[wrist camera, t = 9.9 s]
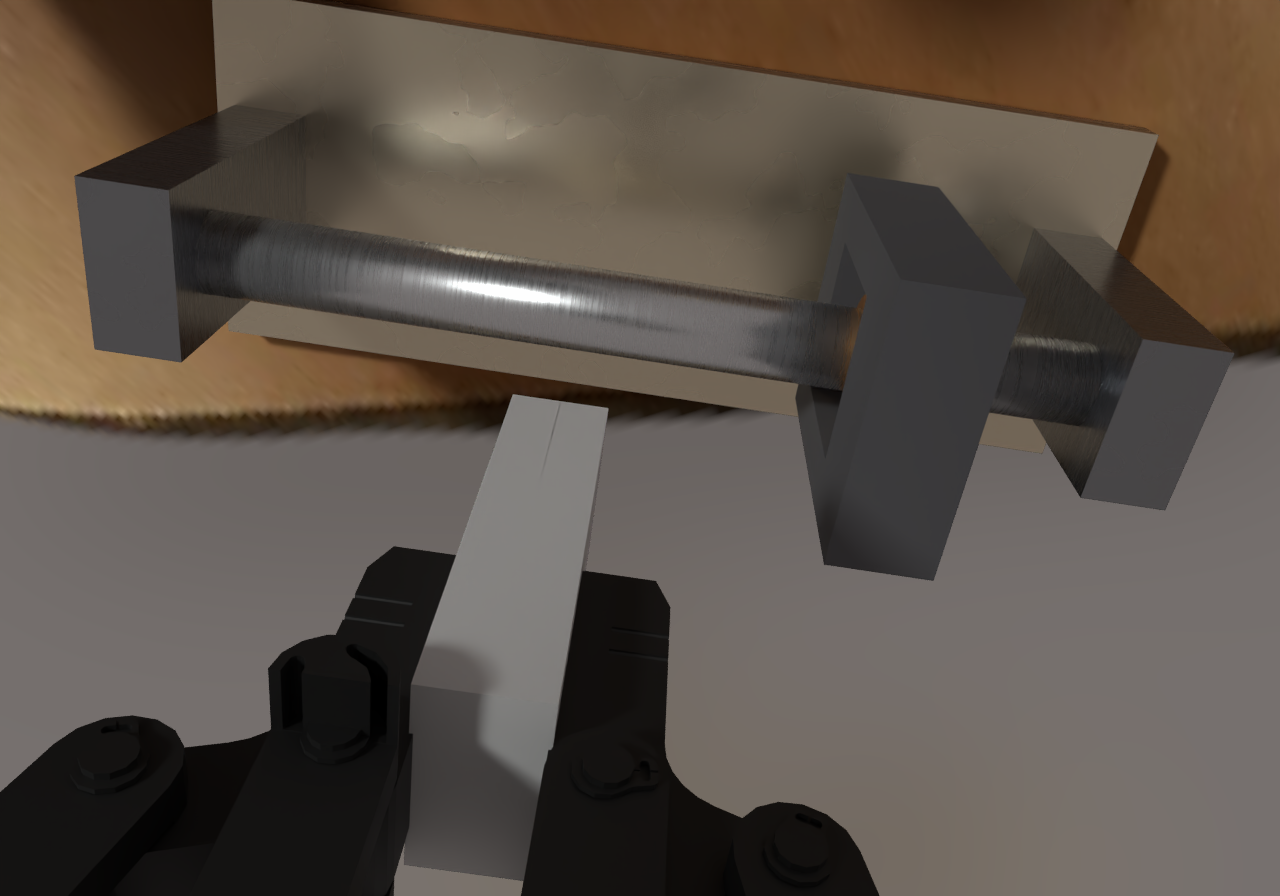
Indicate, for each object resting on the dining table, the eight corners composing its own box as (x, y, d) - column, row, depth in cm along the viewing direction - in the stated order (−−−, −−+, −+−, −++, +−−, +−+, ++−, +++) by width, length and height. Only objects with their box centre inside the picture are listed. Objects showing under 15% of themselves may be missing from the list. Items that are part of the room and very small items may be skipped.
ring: (795, 397, 30) (823, 564, 23) (847, 173, 27) (900, 279, 20) (877, 410, 30) (933, 580, 23) (938, 186, 27) (1026, 298, 20)
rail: (241, 319, 34) (87, 459, 25) (226, -16, 29) (31, 21, 21) (1033, 439, 34) (1139, 616, 26) (1145, 127, 29) (1318, 220, 21)
